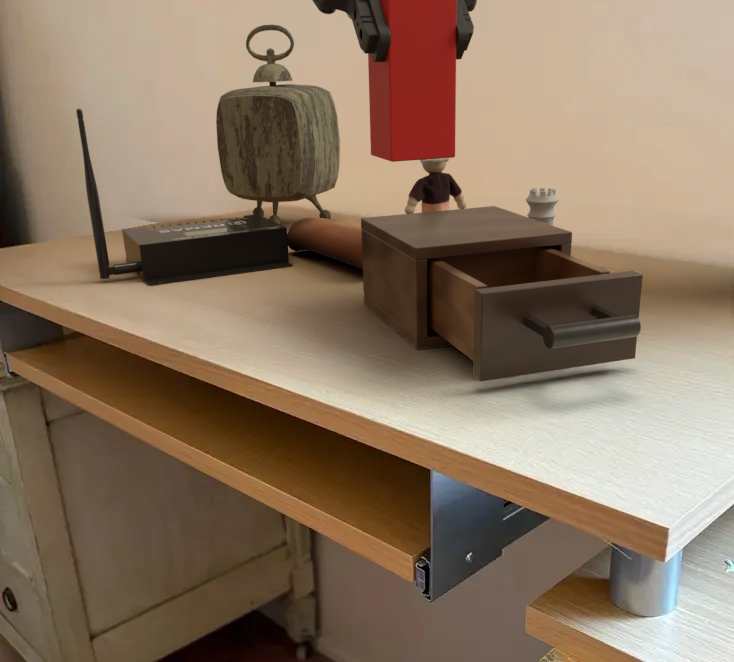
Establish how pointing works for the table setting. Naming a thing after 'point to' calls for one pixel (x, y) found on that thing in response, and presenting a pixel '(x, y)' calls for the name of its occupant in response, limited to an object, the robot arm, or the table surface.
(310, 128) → the tabletop clock
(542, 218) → the rook chess piece
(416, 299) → the cabinet
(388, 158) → the ketchup bottle
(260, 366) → the table surface
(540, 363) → the drawer
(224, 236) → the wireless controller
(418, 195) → the grandmother figurine
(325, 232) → the sunglasses case
